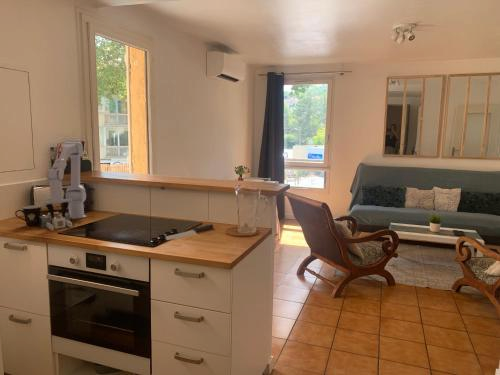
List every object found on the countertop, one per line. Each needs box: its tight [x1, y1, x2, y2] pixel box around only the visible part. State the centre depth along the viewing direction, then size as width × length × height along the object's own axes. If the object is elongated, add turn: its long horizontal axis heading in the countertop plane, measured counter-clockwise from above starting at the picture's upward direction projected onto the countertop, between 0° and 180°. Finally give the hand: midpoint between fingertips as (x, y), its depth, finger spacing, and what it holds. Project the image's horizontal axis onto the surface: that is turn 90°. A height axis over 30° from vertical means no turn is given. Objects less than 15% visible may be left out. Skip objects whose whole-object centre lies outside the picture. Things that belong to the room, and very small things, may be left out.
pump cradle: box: [45, 220, 73, 231], centre depth 200 cm, size 9×11×2 cm
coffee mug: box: [14, 205, 42, 228], centre depth 204 cm, size 12×9×10 cm
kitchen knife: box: [165, 223, 214, 241], centre depth 188 cm, size 29×3×5 cm
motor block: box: [38, 211, 71, 229], centre depth 205 cm, size 6×14×6 cm, turn 133°
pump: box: [52, 216, 67, 230], centre depth 200 cm, size 6×5×6 cm
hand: (58, 217), depth 200 cm, fingers open, 5 cm apart
